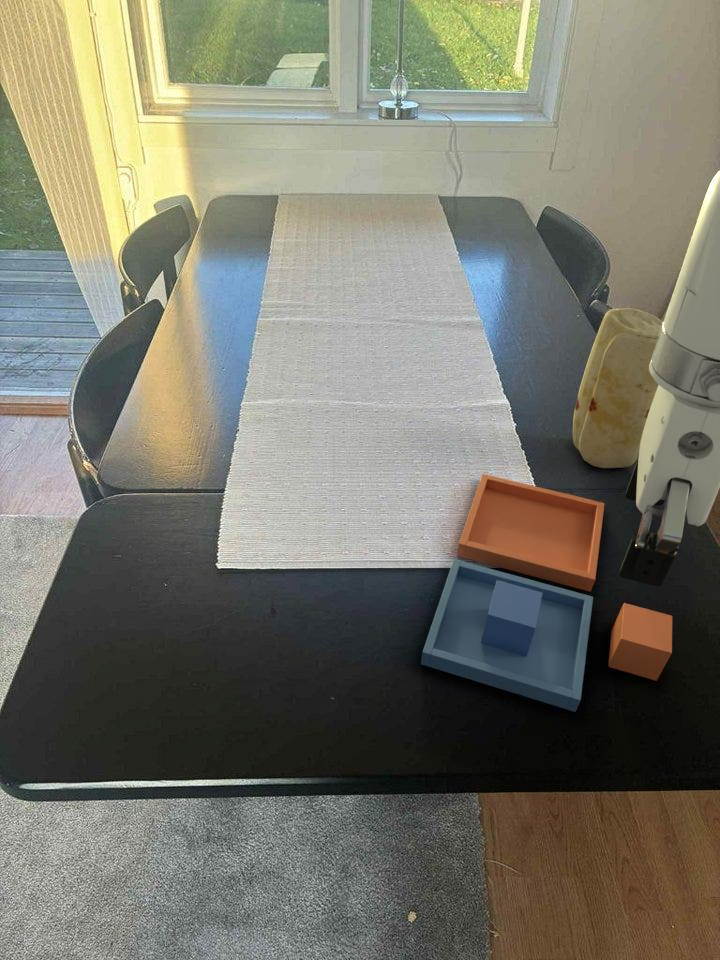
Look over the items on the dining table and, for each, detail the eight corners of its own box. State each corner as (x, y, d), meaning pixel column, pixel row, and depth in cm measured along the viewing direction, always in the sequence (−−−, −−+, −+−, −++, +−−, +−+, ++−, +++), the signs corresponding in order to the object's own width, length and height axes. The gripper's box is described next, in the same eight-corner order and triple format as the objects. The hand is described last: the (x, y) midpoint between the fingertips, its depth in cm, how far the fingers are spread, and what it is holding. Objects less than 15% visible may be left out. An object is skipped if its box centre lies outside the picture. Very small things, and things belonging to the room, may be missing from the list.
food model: (643, 460, 91) (697, 322, 78) (619, 484, 88) (671, 343, 75) (577, 428, 96) (617, 293, 83) (552, 449, 93) (589, 312, 79)
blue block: (533, 621, 70) (542, 592, 68) (526, 656, 67) (535, 628, 64) (489, 608, 72) (496, 579, 69) (480, 643, 68) (487, 614, 65)
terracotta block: (657, 644, 69) (672, 615, 67) (656, 681, 66) (672, 653, 63) (611, 630, 70) (623, 602, 68) (608, 666, 67) (621, 638, 64)
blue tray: (588, 609, 73) (593, 596, 71) (575, 712, 63) (580, 700, 62) (451, 571, 76) (453, 558, 75) (420, 664, 67) (422, 651, 66)
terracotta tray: (600, 515, 83) (604, 502, 82) (590, 592, 74) (595, 579, 73) (480, 485, 87) (482, 473, 85) (456, 555, 78) (458, 543, 76)
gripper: (788, 444, 40) (691, 629, 51) (761, 312, 53) (687, 483, 64) (651, 418, 42) (586, 602, 53) (656, 295, 54) (603, 465, 65)
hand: (641, 537), depth 58 cm, fingers open, 9 cm apart
